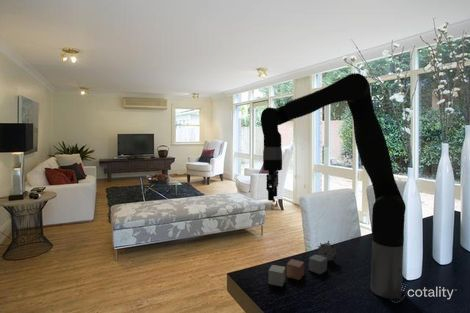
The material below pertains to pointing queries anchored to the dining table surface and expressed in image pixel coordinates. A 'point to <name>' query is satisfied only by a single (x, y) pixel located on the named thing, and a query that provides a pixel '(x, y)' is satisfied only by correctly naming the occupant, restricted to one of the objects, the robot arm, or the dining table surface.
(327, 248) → the small potted plant
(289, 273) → the terracotta cube
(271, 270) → the cream cube
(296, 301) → the dining table surface
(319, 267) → the blue-grey cube
